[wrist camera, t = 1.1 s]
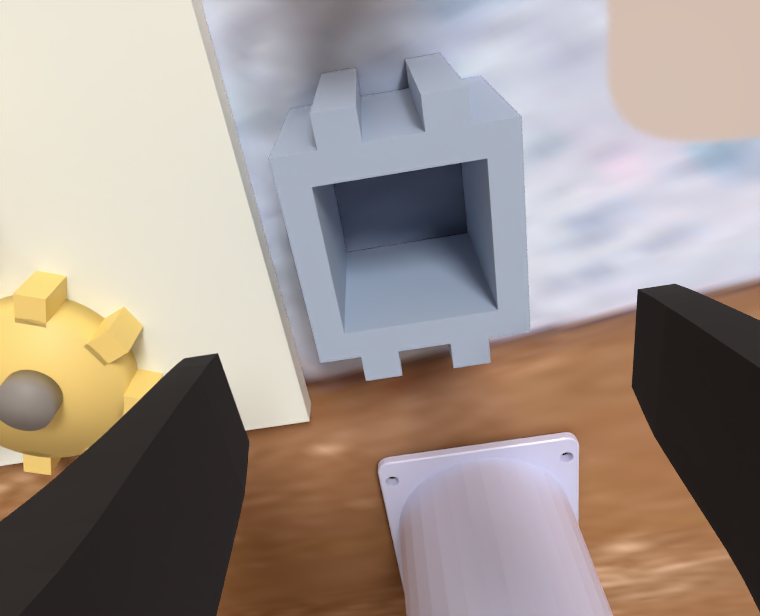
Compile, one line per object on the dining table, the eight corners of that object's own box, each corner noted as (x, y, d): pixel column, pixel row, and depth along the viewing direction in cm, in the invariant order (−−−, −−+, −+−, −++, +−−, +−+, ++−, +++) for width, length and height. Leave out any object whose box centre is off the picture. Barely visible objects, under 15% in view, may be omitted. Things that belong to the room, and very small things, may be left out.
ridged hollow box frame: (495, 272, 21) (531, 356, 16) (332, 297, 21) (326, 387, 17) (479, 46, 17) (520, 78, 13) (283, 80, 18) (259, 122, 13)
